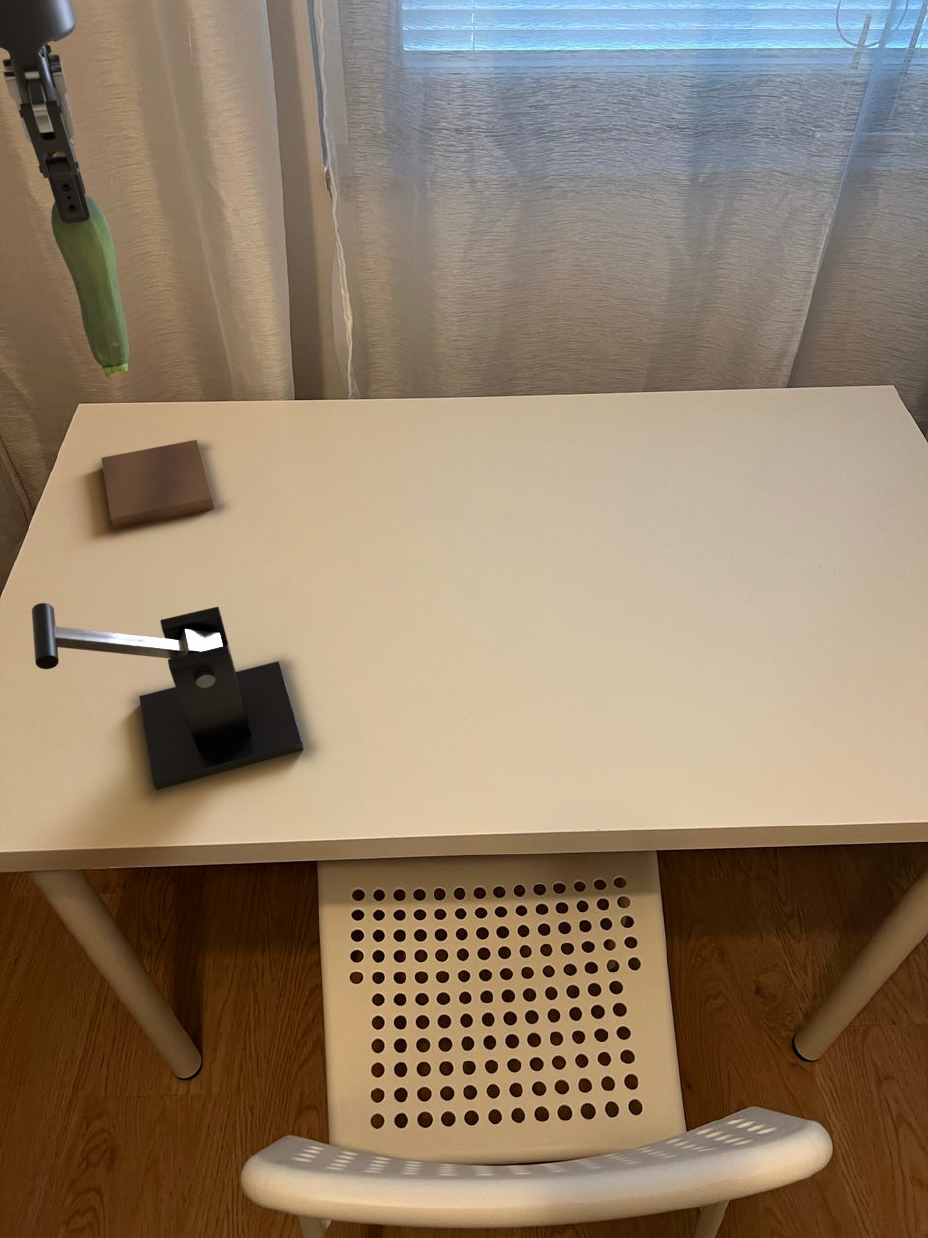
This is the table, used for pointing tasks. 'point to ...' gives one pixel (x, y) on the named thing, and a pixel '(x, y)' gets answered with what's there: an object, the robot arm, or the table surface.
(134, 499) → the board
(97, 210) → the vegetable
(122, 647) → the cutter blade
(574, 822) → the table surface
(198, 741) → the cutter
